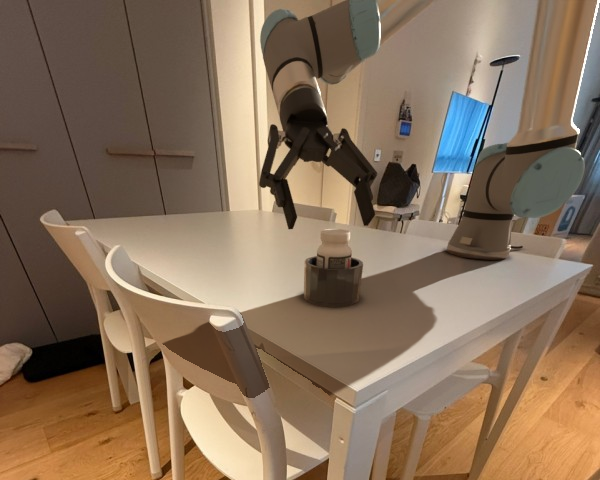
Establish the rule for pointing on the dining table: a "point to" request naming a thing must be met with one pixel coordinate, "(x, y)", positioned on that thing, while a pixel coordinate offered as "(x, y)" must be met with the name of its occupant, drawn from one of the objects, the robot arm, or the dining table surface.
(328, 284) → the cylindrical container
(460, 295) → the dining table surface
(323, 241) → the pill bottle
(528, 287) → the dining table surface
